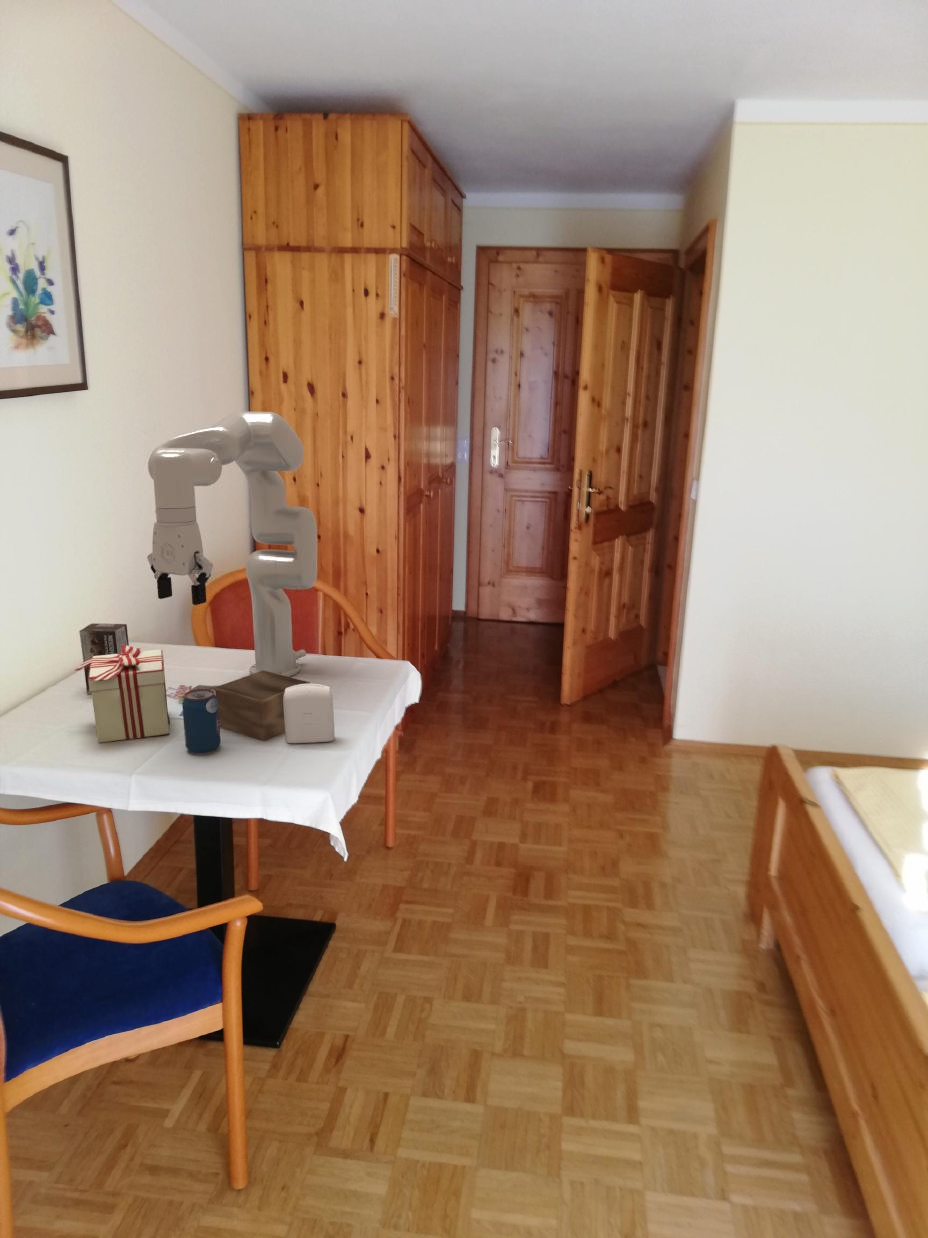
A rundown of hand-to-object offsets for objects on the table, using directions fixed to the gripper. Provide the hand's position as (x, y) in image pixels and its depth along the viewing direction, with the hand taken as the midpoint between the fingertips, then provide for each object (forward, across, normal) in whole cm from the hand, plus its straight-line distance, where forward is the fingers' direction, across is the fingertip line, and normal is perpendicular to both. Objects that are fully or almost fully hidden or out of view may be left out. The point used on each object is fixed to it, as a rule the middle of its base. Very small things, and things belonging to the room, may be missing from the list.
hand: (182, 600), depth 187 cm
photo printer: (+30, +21, +13) cm, 39 cm away
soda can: (+30, +5, -2) cm, 31 cm away
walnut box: (+30, +6, +15) cm, 34 cm away
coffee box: (+30, -40, +12) cm, 51 cm away
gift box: (+30, -17, -3) cm, 35 cm away
